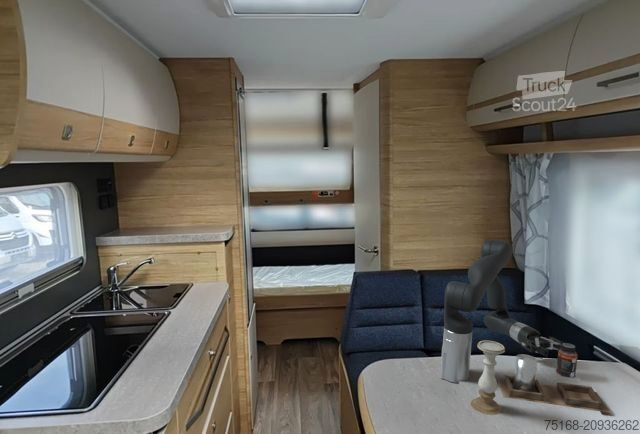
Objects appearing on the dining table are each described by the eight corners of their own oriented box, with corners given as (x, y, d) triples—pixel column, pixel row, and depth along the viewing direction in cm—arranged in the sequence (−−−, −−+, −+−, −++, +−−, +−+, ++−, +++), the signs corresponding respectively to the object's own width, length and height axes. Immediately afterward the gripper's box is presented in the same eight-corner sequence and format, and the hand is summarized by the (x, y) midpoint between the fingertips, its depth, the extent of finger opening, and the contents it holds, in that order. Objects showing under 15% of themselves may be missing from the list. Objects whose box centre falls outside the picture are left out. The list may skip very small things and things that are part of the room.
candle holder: (507, 412, 132) (513, 347, 129) (489, 421, 127) (495, 354, 124) (481, 398, 139) (487, 336, 136) (464, 406, 134) (469, 343, 131)
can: (515, 394, 140) (518, 361, 138) (511, 384, 146) (514, 353, 144) (535, 396, 139) (539, 364, 137) (531, 387, 144) (534, 355, 143)
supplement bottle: (577, 381, 151) (581, 350, 150) (558, 379, 152) (562, 348, 151) (571, 372, 157) (575, 342, 156) (553, 370, 158) (556, 340, 157)
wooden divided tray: (503, 400, 138) (503, 391, 138) (497, 381, 150) (498, 372, 149) (610, 415, 131) (611, 406, 131) (595, 394, 143) (597, 386, 142)
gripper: (510, 327, 171) (542, 345, 155) (540, 324, 175) (574, 341, 159) (508, 345, 172) (540, 365, 156) (538, 342, 176) (572, 360, 160)
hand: (557, 353), depth 158 cm, fingers open, 8 cm apart
